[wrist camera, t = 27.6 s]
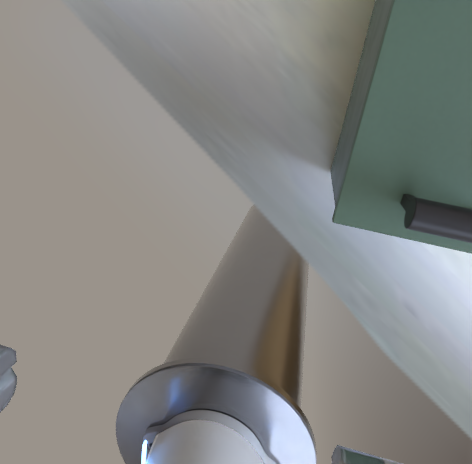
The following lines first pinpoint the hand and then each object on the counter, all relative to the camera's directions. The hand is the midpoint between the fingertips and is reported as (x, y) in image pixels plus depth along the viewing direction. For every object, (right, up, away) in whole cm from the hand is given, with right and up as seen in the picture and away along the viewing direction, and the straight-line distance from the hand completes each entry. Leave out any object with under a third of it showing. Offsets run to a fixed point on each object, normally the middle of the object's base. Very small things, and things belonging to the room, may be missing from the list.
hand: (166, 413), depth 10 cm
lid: (+16, +11, +14) cm, 24 cm away
